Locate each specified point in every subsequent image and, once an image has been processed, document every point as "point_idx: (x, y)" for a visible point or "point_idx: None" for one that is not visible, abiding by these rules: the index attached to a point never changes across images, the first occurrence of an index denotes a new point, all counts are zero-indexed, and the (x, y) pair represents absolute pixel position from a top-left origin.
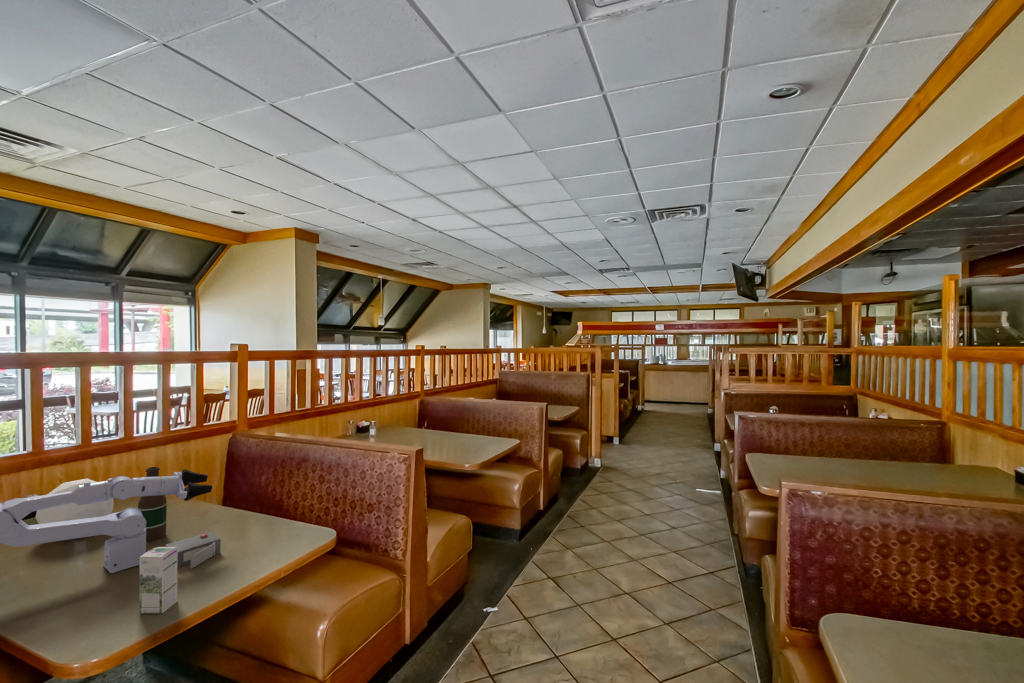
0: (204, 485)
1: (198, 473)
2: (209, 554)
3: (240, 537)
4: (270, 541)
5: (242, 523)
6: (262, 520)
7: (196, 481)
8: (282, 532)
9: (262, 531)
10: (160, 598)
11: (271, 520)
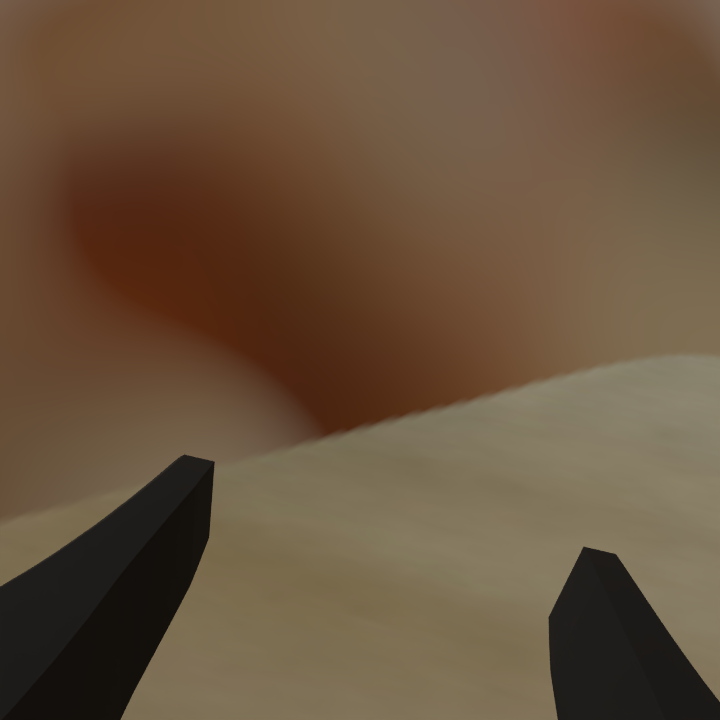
0: (659, 649)
1: (90, 534)
2: None
3: (497, 647)
4: (696, 549)
5: (259, 561)
6: (315, 480)
7: (137, 661)
8: (586, 470)
9: (491, 529)
10: None
11: (357, 453)
